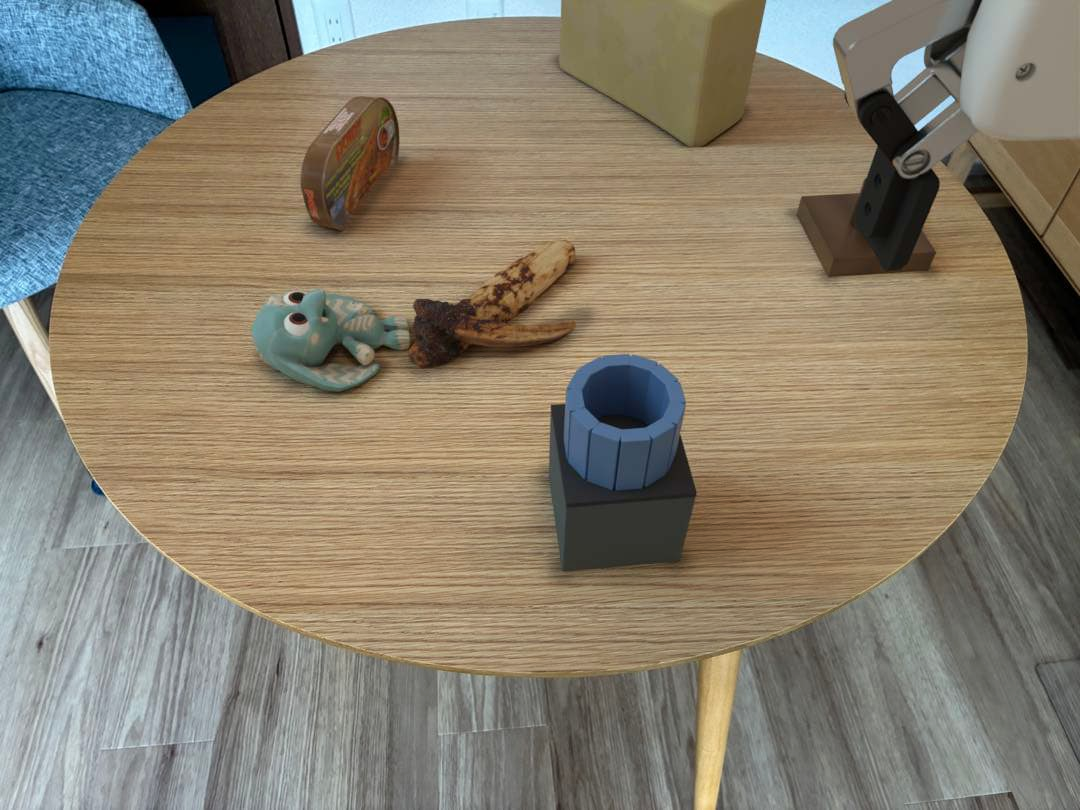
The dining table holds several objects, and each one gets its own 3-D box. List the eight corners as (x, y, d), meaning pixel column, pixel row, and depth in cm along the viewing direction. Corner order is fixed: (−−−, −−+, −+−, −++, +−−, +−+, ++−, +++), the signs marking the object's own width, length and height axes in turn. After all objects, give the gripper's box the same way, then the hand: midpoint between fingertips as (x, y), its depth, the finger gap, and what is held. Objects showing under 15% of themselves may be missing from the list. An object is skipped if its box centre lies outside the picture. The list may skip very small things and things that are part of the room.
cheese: (533, 81, 98) (534, -60, 86) (588, 51, 102) (595, -86, 91) (694, 155, 88) (718, 7, 77) (746, 118, 93) (776, -26, 81)
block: (655, 475, 61) (669, 395, 54) (678, 569, 56) (697, 493, 49) (548, 484, 60) (550, 404, 54) (561, 579, 55) (566, 504, 49)
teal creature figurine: (424, 340, 62) (248, 341, 58) (415, 408, 67) (252, 412, 63) (407, 248, 69) (249, 244, 65) (400, 316, 74) (253, 315, 70)
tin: (338, 249, 77) (321, 168, 71) (306, 242, 78) (287, 161, 71) (406, 160, 87) (396, 82, 80) (377, 155, 87) (365, 76, 81)
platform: (886, 217, 81) (910, 152, 76) (924, 279, 75) (954, 212, 70) (793, 223, 80) (812, 157, 75) (825, 285, 75) (847, 219, 69)
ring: (662, 401, 54) (671, 350, 51) (685, 485, 50) (696, 436, 46) (558, 408, 54) (560, 357, 50) (572, 494, 49) (575, 445, 46)
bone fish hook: (471, 418, 65) (624, 299, 73) (468, 378, 61) (630, 257, 69) (390, 354, 69) (544, 248, 77) (383, 312, 65) (545, 205, 73)
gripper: (1026, -310, 17) (813, 321, 30) (1788, -316, 19) (1273, 290, 31) (886, -367, 22) (754, 195, 35) (1496, -369, 23) (1154, 173, 36)
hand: (1000, 240), depth 33 cm, fingers open, 9 cm apart
